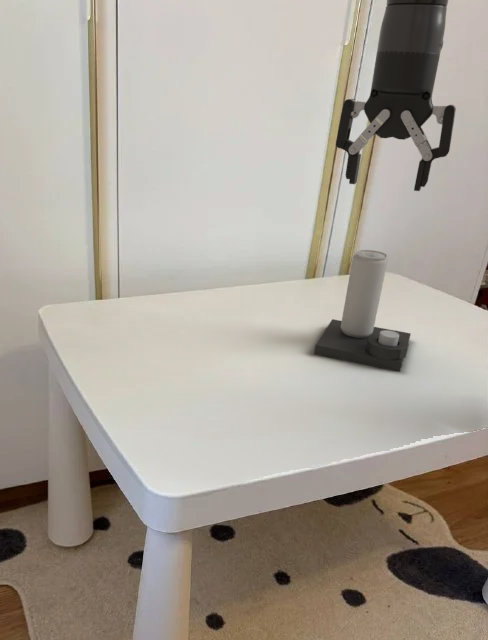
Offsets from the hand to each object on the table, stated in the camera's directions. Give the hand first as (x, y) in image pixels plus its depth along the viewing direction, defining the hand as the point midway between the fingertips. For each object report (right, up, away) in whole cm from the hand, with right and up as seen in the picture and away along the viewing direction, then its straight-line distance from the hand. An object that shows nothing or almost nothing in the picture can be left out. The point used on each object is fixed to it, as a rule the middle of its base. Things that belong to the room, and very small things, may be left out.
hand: (384, 186), depth 85 cm
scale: (-1, -21, +8) cm, 23 cm away
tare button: (+1, -21, +3) cm, 21 cm away
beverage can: (-1, -19, +10) cm, 21 cm away
